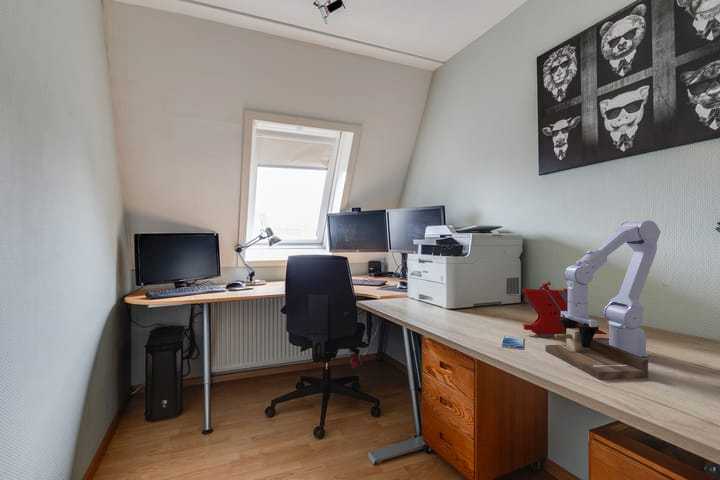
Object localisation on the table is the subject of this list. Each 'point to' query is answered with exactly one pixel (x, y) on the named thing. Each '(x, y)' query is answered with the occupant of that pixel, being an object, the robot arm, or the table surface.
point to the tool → (548, 310)
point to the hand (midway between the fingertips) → (577, 343)
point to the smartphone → (513, 342)
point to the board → (603, 361)
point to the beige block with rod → (572, 339)
